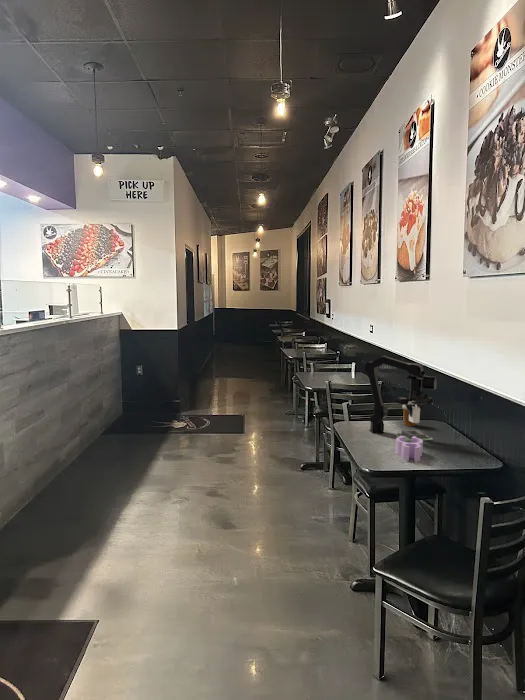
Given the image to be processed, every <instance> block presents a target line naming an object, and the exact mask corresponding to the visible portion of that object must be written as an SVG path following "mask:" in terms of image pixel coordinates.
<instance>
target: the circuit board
mask: <svg viewBox="0 0 525 700" xmlns="http://www.w3.org/2000/svg"><path fill="white" fill-rule="evenodd" d="M401 433H402V432H401ZM401 433H400V432H398V433H394V436H395V435H396V436H395V437H396V438H398V437H400V436H404V435H403V434H401ZM404 437H405V442H412V441H411V440H412V439H409V438H407V437H406V436H404ZM421 440H423V441H433V440H434V438H433V437H431V436H430V435H427V434H426V438H422V439H421Z"/></svg>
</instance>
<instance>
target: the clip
mask: <svg viewBox="0 0 525 700" xmlns="http://www.w3.org/2000/svg"><path fill="white" fill-rule="evenodd" d="M423 447H424V440H421V439H419V438H416V436H413V437H412V441H410V442H409V441H405V437H404V436H400V437H396V438H395V454H396V455H397V454H398V456H400V455H401V456H400V457H401V460H402V459H403V460H402V461H404V460H405V461H404V462H410V457H413V458H412V459H413V460H414V461H415V463H419V462H420V461H421V457H422V456H423V450H424V449H423ZM420 456H421V457H420ZM418 461H419V462H418Z"/></svg>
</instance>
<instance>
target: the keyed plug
mask: <svg viewBox="0 0 525 700" xmlns="http://www.w3.org/2000/svg"><path fill="white" fill-rule="evenodd" d="M412 404H413V407H412V417H410V415H409V421H410V422H412V423H416V424H419V423H420V417H421V416H420V415H421V412H420V408H419V407H417V406H415V405H416V404H417V403H416V402H412Z"/></svg>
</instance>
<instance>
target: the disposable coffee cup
mask: <svg viewBox="0 0 525 700" xmlns="http://www.w3.org/2000/svg"><path fill="white" fill-rule="evenodd" d="M415 404H416V405H415V406H417V403H415ZM412 405H413V403H412ZM401 408H402V412H403V425H404V426H406V427H415V426H416V424H417V423H412V422H410V421H409V412H408V409H407V407H406V405H402V406H401Z"/></svg>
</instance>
